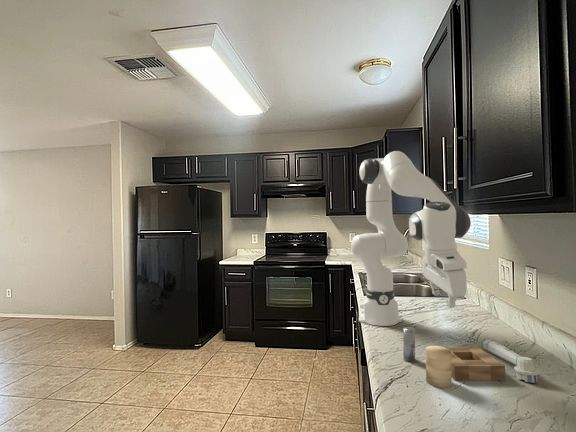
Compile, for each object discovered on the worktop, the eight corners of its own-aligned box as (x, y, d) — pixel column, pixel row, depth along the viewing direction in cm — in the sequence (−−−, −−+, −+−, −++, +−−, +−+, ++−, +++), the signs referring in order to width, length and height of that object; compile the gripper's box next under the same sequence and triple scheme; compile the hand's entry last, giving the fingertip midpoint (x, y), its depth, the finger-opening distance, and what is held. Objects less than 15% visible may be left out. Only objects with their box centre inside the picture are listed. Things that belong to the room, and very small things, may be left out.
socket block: (434, 359, 110) (434, 347, 110) (477, 359, 110) (477, 346, 110) (454, 380, 96) (454, 366, 96) (505, 380, 96) (504, 365, 96)
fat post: (422, 377, 98) (422, 345, 98) (445, 376, 98) (444, 345, 98) (431, 388, 92) (431, 355, 92) (455, 388, 91) (455, 354, 91)
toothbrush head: (495, 338, 118) (541, 357, 93) (496, 358, 117) (543, 383, 92) (479, 337, 119) (521, 357, 94) (480, 357, 118) (523, 382, 93)
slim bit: (402, 357, 112) (401, 327, 112) (412, 357, 112) (412, 326, 112) (405, 362, 108) (405, 330, 108) (417, 362, 108) (416, 330, 108)
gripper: (416, 249, 112) (418, 289, 114) (447, 267, 92) (449, 315, 93) (435, 247, 112) (437, 287, 114) (470, 264, 92) (472, 312, 93)
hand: (443, 300), depth 103 cm, fingers open, 8 cm apart
